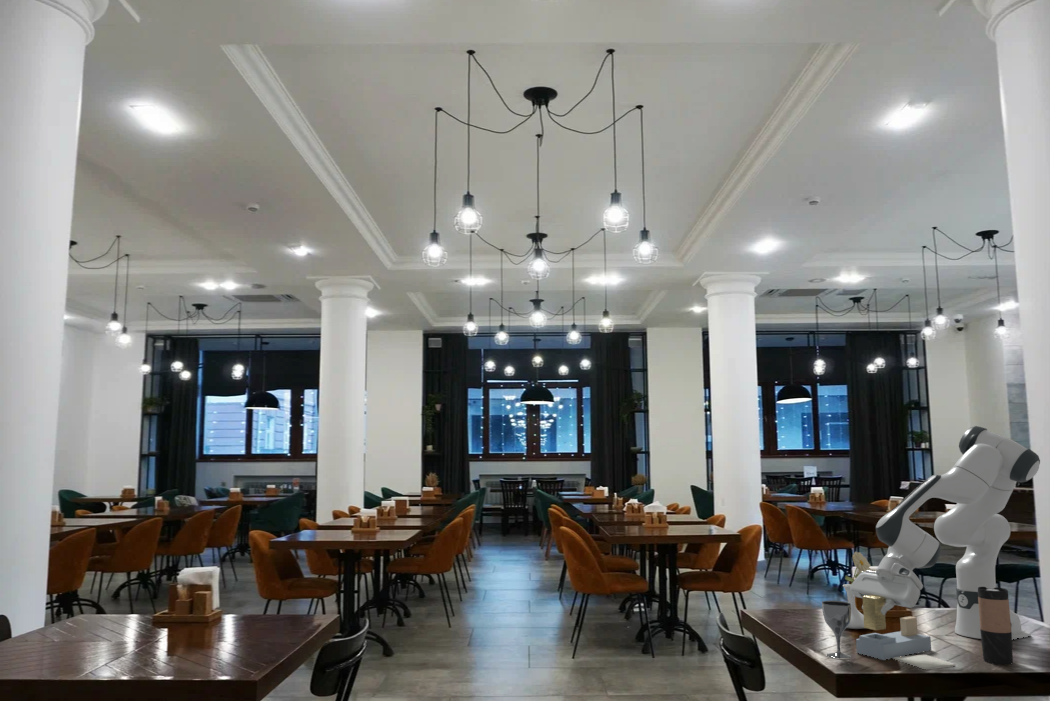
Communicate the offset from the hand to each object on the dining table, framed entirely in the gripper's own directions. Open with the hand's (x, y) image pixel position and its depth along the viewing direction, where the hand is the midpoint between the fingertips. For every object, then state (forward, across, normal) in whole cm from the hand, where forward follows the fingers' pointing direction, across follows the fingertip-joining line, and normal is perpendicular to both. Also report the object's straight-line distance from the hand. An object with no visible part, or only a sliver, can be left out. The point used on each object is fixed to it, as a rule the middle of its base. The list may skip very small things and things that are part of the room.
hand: (872, 611), depth 229 cm
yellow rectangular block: (+3, 0, +4) cm, 5 cm away
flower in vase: (-9, -27, +27) cm, 39 cm away
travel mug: (-8, +22, +25) cm, 35 cm away
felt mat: (+6, +13, +11) cm, 18 cm away
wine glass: (+16, -4, +1) cm, 17 cm away
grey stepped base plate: (+3, +1, +14) cm, 15 cm away
